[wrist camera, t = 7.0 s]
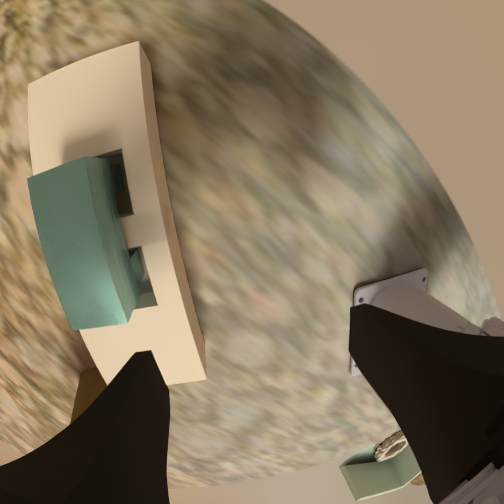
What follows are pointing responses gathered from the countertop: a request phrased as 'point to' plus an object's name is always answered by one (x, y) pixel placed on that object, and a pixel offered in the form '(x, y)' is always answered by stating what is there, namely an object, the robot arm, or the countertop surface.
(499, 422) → the robot arm
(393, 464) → the right angle wall
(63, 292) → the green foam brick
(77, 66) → the rail
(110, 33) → the countertop surface
